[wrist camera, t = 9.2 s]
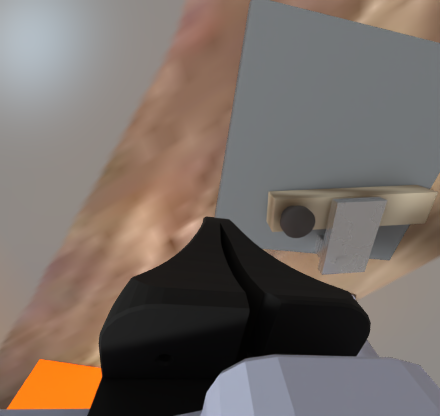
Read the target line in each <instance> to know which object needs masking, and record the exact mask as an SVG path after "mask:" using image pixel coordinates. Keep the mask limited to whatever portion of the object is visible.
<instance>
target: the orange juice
mask: <svg viewBox="0 0 440 416" xmlns="http://www.w3.org/2000/svg"><path fill="white" fill-rule="evenodd" d="M101 378H102V372H101V368H95V367H89V366H82V365H75V364H69V363H62V362H55V361H49V360H42V359H40V360H39V361H38V363H37V364H36V366H35V367H34V369H33V370H32V372H31V373H30V375H29V376H28V378H27V380H26V381H25V383H24V384H23V386H22V387H21V389H20V390H19V392H18V393H17V395H16V396H15V398H14V399H13V401H12V402H11V404H10V405H9V407H8V408H7V409H90V407H91V404H92V402H93V399H94V396H95V394H96V391H97V389H98V386H99V383H100V381H101Z"/></svg>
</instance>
